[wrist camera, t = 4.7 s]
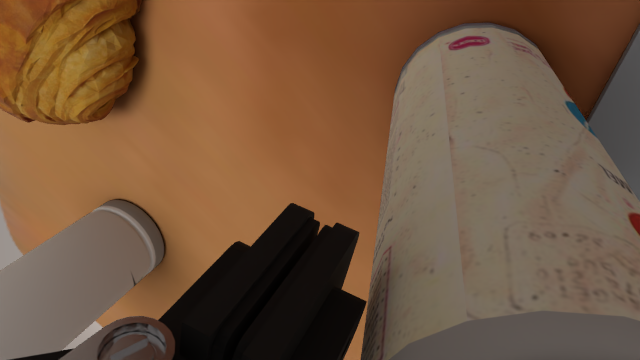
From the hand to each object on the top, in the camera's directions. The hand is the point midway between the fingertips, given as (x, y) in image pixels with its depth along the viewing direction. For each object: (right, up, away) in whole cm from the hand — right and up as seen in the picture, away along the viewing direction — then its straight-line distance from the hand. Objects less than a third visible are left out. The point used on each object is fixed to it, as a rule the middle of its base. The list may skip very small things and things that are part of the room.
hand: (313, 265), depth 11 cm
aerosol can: (+7, +6, +11) cm, 14 cm away
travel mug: (-14, -2, +27) cm, 30 cm away
